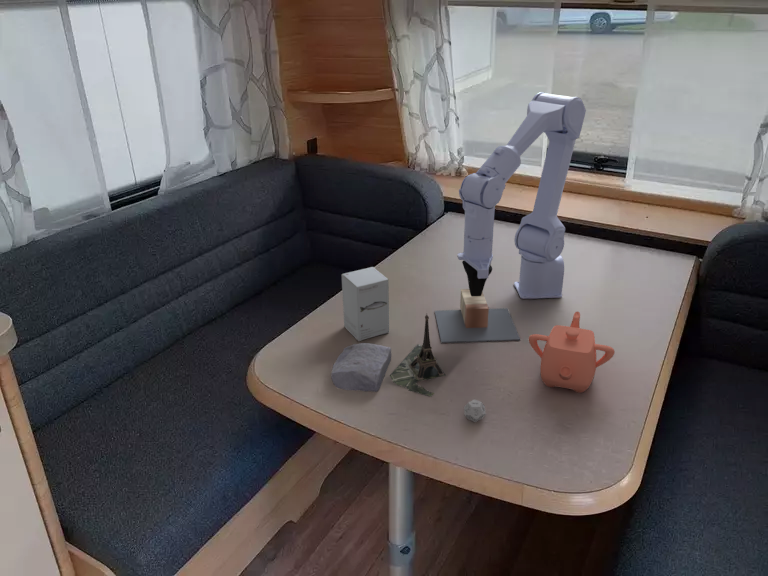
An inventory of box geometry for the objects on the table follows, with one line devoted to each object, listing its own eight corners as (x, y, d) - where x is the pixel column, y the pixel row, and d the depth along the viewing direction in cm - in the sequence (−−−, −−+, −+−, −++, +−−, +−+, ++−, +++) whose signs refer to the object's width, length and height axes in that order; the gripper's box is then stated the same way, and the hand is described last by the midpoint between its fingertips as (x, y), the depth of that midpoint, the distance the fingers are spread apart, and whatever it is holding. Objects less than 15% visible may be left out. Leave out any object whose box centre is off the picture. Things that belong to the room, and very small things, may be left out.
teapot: (618, 394, 110) (627, 345, 105) (559, 409, 107) (565, 358, 102) (572, 353, 122) (578, 307, 117) (518, 365, 119) (522, 318, 114)
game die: (465, 409, 107) (465, 395, 106) (487, 413, 106) (487, 398, 105) (461, 422, 104) (462, 408, 103) (483, 426, 103) (484, 411, 102)
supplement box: (358, 342, 127) (355, 287, 122) (343, 326, 133) (340, 272, 127) (390, 333, 130) (389, 278, 125) (374, 318, 136) (372, 265, 130)
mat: (507, 309, 138) (507, 308, 138) (520, 340, 127) (520, 339, 126) (434, 311, 138) (434, 310, 138) (441, 343, 126) (441, 341, 126)
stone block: (330, 397, 114) (382, 394, 112) (324, 374, 113) (376, 370, 110) (347, 363, 125) (396, 359, 122) (342, 342, 123) (390, 338, 120)
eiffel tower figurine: (417, 345, 127) (417, 286, 121) (464, 357, 122) (466, 297, 116) (382, 385, 115) (380, 322, 109) (433, 400, 110) (433, 335, 104)
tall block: (481, 288, 137) (488, 308, 129) (480, 306, 139) (487, 327, 131) (460, 289, 137) (466, 309, 129) (460, 307, 139) (466, 328, 131)
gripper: (453, 221, 131) (452, 280, 137) (463, 249, 118) (461, 312, 124) (487, 220, 131) (484, 279, 137) (500, 248, 118) (496, 311, 124)
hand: (475, 294), depth 131 cm, fingers closed
